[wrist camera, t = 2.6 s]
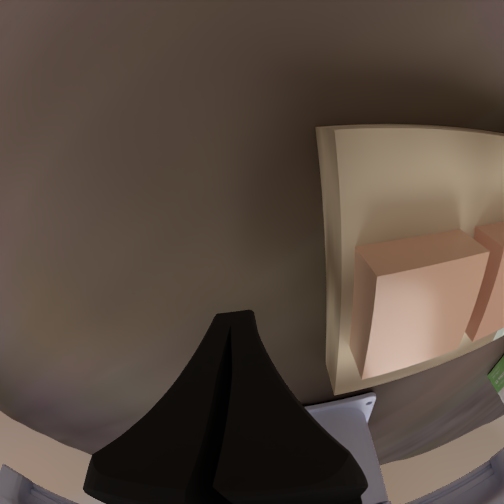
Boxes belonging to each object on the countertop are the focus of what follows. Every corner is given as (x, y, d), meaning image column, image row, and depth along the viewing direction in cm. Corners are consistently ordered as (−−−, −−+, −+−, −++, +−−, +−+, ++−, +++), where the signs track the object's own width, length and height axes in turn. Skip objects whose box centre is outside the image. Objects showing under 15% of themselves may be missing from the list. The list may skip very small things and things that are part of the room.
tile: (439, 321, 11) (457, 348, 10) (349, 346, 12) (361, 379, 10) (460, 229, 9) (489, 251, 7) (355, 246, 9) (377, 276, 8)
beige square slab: (475, 319, 15) (492, 340, 13) (325, 363, 16) (334, 395, 13) (508, 134, 9) (539, 143, 7) (315, 126, 10) (334, 130, 8)
